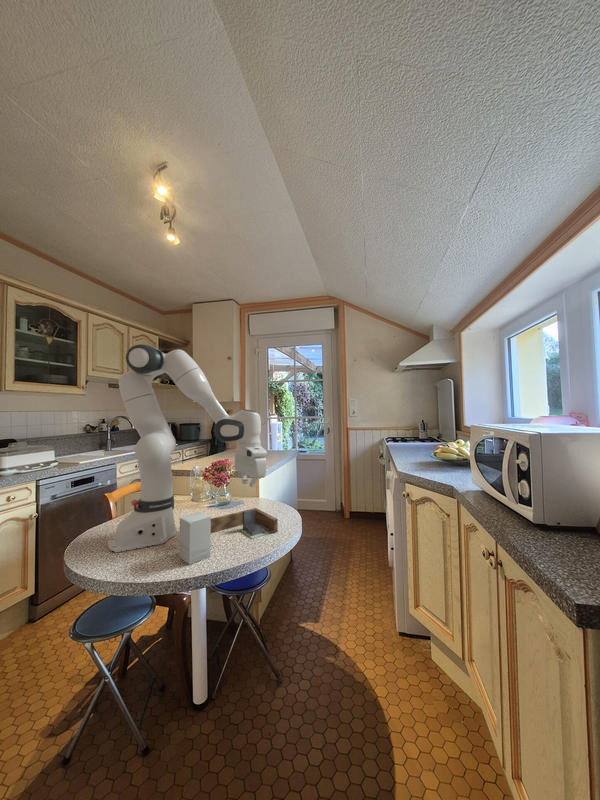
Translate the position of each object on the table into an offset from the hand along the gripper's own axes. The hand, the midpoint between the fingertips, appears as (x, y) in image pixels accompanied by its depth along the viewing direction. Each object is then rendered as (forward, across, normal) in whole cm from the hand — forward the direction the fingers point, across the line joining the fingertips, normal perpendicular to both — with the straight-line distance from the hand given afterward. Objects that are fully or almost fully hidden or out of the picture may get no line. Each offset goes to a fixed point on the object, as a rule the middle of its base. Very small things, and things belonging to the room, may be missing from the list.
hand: (248, 485), depth 114 cm
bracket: (+17, +3, +1) cm, 17 cm away
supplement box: (+18, +9, -23) cm, 31 cm away
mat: (+17, +4, +1) cm, 18 cm away
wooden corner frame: (+17, +1, -3) cm, 18 cm away
